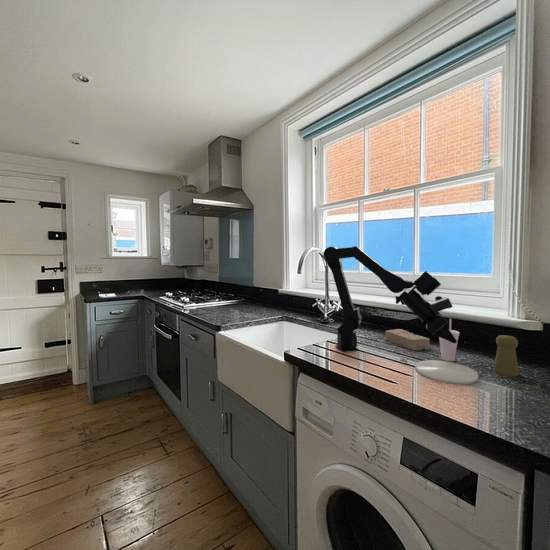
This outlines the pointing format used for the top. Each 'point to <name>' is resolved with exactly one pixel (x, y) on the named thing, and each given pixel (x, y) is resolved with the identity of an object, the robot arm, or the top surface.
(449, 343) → the smoothie
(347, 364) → the top surface
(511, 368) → the cork
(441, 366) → the plate
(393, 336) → the brick
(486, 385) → the top surface
